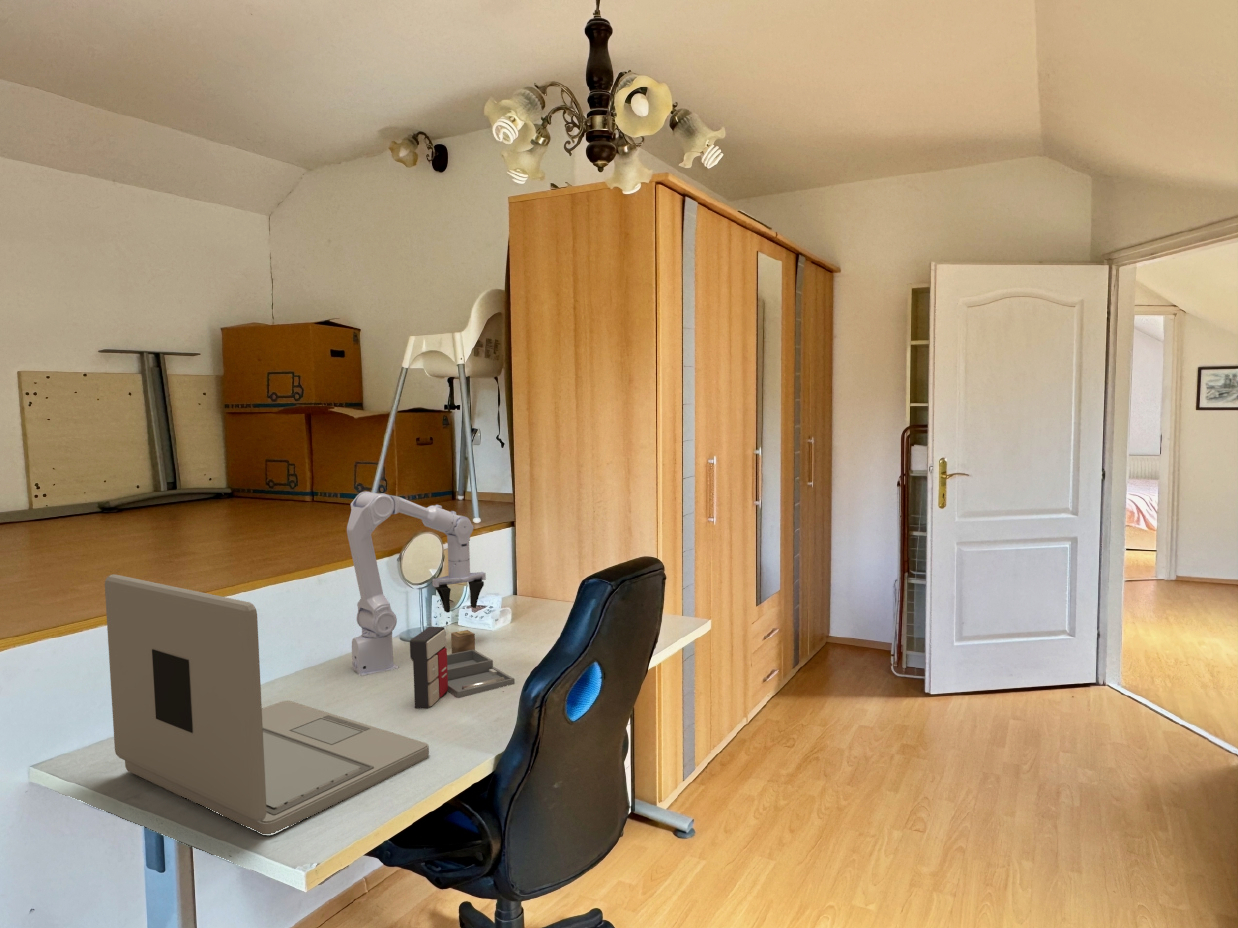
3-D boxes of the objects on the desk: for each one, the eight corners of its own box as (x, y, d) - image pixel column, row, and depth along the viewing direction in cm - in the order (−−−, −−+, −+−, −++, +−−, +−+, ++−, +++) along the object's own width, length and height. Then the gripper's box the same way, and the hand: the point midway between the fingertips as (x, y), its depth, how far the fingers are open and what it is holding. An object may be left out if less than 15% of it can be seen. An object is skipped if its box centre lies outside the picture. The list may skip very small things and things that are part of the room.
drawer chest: (431, 710, 167) (428, 640, 166) (411, 709, 168) (409, 640, 167) (450, 691, 178) (447, 626, 177) (431, 690, 179) (429, 626, 178)
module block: (458, 660, 200) (458, 635, 199) (451, 655, 203) (451, 631, 203) (475, 656, 202) (474, 632, 202) (468, 652, 206) (467, 628, 205)
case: (438, 684, 183) (437, 671, 183) (420, 672, 192) (420, 660, 192) (493, 672, 191) (492, 660, 191) (473, 661, 200) (473, 649, 200)
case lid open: (457, 698, 174) (457, 691, 174) (438, 684, 183) (438, 678, 183) (514, 685, 182) (514, 678, 182) (493, 672, 191) (493, 666, 191)
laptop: (433, 759, 144) (426, 564, 142) (257, 847, 115) (245, 605, 113) (287, 711, 168) (279, 545, 166) (112, 775, 140) (100, 575, 137)
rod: (464, 691, 175) (463, 685, 176) (462, 693, 176) (461, 687, 177) (505, 681, 181) (503, 675, 182) (503, 683, 182) (501, 678, 183)
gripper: (439, 565, 204) (440, 616, 205) (490, 558, 213) (491, 608, 214) (428, 561, 210) (430, 611, 211) (478, 554, 219) (480, 603, 219)
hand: (460, 609), depth 213 cm, fingers open, 7 cm apart
